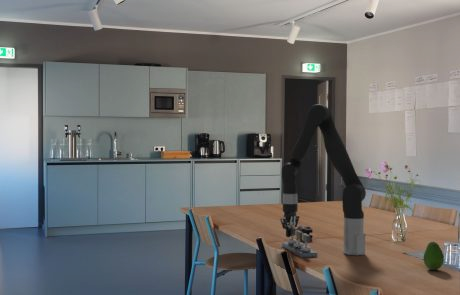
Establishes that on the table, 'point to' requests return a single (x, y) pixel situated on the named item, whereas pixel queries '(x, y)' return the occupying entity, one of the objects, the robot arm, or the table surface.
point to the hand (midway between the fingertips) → (290, 236)
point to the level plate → (299, 250)
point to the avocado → (433, 256)
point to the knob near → (306, 239)
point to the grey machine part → (306, 231)
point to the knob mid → (299, 236)
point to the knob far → (292, 232)
